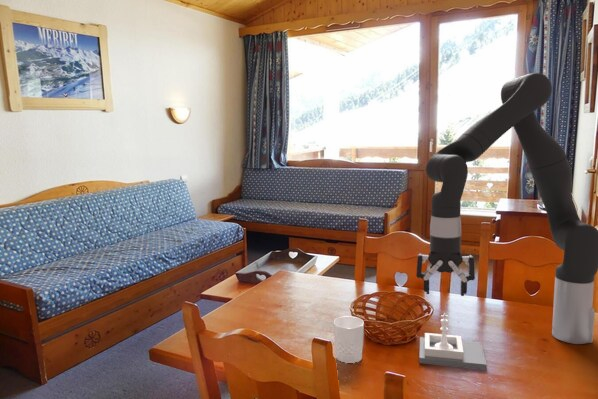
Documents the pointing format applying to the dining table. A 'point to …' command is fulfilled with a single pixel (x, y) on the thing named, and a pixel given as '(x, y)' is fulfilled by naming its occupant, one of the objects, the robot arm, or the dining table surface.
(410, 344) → the dining table surface
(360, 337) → the white cup
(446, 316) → the chess piece
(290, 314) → the dining table surface
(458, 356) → the socket board
